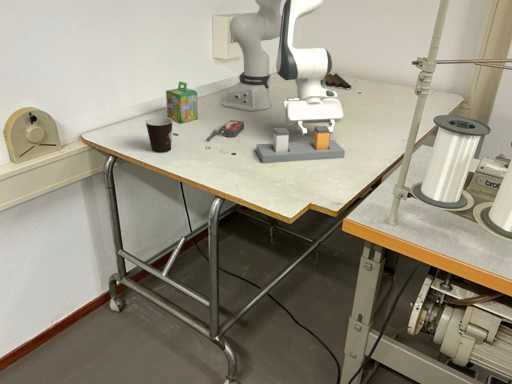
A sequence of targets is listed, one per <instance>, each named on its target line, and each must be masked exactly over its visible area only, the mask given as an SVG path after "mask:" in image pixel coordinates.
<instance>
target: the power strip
mask: <svg viewBox="0 0 512 384" xmlns="http://www.w3.org/2000/svg"><path fill="white" fill-rule="evenodd" d="M255 148H256V150H255V151H256V153H257V155H258V157H259V158H260V160H261V162H262V164H269V163H270V164H272V163H273V164H274V163H284V162H285V163H286V162H297V161H298V162H301V161H317V160H330V159H331V160H333V159H343V158H345V153H346V150H345V149H344V148H343V147H342V146H341V145H340V144H339V143H338V142H336V140H334V139H329V143H328V149H323V150H314V148H313V140H311V141H310V140H309V141H307V140H306V141H292V142H290V141H288V152H275V153H274V151H273V142H272V143H257V144H256V147H255Z"/></svg>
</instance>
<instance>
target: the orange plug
mask: <svg viewBox="0 0 512 384" xmlns="http://www.w3.org/2000/svg"><path fill="white" fill-rule="evenodd" d="M329 128H330V127H328V126H327V125H317V126H314V130H313V131H314V132H313V140H312V141H313V148H314V150H323V149H328V143H329V140H330V135H331V134H330V130H329Z"/></svg>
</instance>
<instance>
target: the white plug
mask: <svg viewBox="0 0 512 384" xmlns="http://www.w3.org/2000/svg"><path fill="white" fill-rule="evenodd" d="M289 135H290V131H288V129H287V128H286V127H280V128H279V127H277V128H275V127H274V128H273V135H272V136H273V137H272V138H273V140H272V141H273V142H272V143H273V151H274V153H275V152H288V142H289Z"/></svg>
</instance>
